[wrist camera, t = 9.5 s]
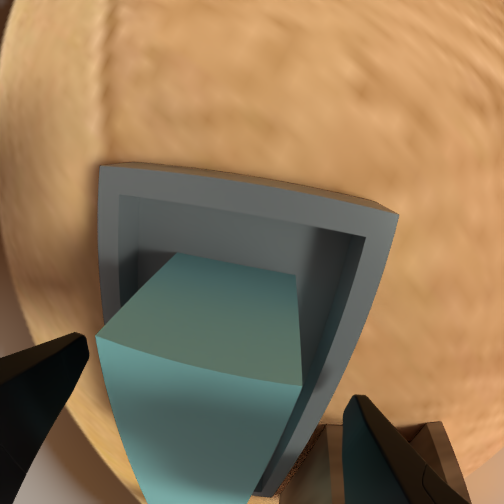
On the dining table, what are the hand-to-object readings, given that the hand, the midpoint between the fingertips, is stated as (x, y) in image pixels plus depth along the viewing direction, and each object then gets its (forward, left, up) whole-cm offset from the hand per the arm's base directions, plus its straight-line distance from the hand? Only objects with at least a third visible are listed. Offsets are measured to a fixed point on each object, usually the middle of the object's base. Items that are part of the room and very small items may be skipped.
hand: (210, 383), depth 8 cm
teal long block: (-3, 0, -2) cm, 4 cm away
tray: (-3, 0, -3) cm, 4 cm away
